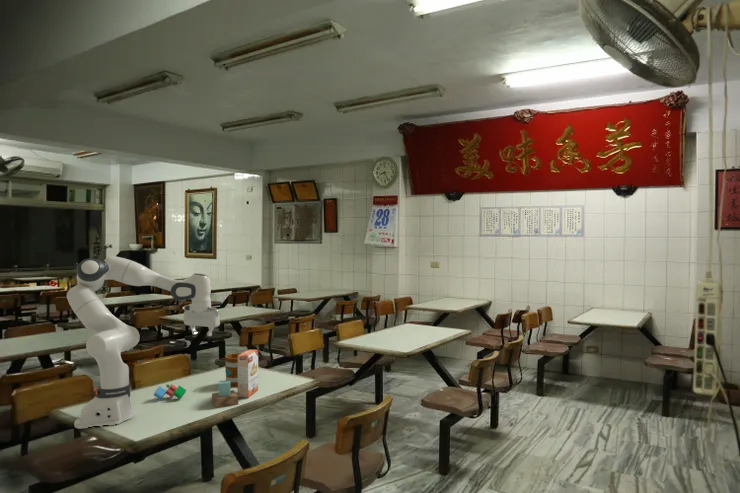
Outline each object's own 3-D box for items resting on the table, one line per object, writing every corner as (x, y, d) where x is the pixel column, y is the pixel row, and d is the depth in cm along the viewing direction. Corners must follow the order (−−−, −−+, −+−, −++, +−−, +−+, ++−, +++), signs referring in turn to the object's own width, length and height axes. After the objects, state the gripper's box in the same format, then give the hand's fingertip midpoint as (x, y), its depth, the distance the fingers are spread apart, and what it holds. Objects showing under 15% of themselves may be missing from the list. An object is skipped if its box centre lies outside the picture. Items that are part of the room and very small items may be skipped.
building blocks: (173, 408, 239) (153, 395, 238) (184, 395, 245) (164, 382, 244) (176, 403, 233) (155, 389, 233) (187, 389, 239) (166, 375, 239)
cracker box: (249, 398, 238) (248, 355, 238) (237, 398, 239) (236, 355, 239) (259, 389, 252) (258, 349, 252) (248, 389, 253) (247, 349, 253)
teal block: (218, 396, 229) (218, 383, 229) (219, 393, 234) (219, 380, 234) (229, 395, 230) (229, 382, 230) (230, 392, 235) (230, 380, 235)
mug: (220, 383, 265) (219, 355, 265) (243, 378, 274) (242, 351, 274) (237, 391, 250) (237, 361, 250) (260, 385, 259) (260, 357, 259)
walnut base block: (216, 407, 225) (216, 399, 225) (212, 401, 234) (211, 393, 234) (238, 404, 230) (238, 395, 230) (233, 398, 239) (233, 390, 239)
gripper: (222, 306, 237) (223, 335, 237) (190, 305, 245) (191, 332, 245) (213, 308, 231) (213, 337, 231) (181, 306, 240) (181, 335, 240)
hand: (201, 335), depth 238 cm, fingers open, 8 cm apart
